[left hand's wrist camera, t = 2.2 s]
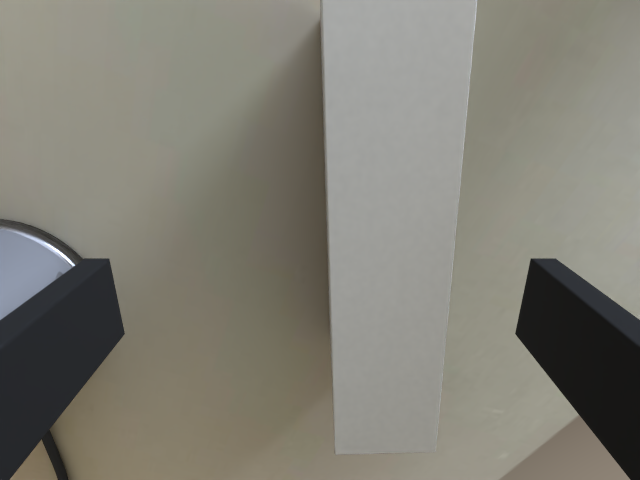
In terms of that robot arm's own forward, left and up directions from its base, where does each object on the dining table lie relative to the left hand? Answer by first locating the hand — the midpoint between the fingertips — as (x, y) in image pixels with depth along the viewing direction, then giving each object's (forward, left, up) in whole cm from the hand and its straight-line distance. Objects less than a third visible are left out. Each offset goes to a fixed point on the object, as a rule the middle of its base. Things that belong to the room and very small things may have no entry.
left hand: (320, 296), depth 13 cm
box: (0, -4, -19) cm, 20 cm away
